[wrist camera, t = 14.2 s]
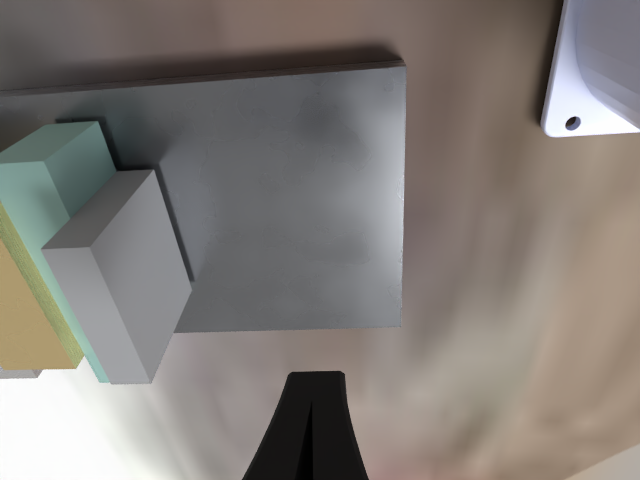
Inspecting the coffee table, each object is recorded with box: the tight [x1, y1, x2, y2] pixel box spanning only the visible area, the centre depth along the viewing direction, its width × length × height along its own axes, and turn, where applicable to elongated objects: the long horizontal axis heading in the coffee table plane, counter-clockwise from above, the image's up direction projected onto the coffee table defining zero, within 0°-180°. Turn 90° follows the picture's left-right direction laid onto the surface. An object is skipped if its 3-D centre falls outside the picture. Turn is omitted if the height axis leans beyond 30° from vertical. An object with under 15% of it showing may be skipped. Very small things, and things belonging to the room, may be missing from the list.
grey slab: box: [0, 60, 406, 379], centre depth 18 cm, size 20×12×6 cm, turn 95°
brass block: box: [0, 201, 84, 370], centre depth 18 cm, size 3×7×4 cm, turn 5°
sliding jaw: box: [0, 121, 192, 384], centre depth 17 cm, size 4×10×5 cm, turn 5°
